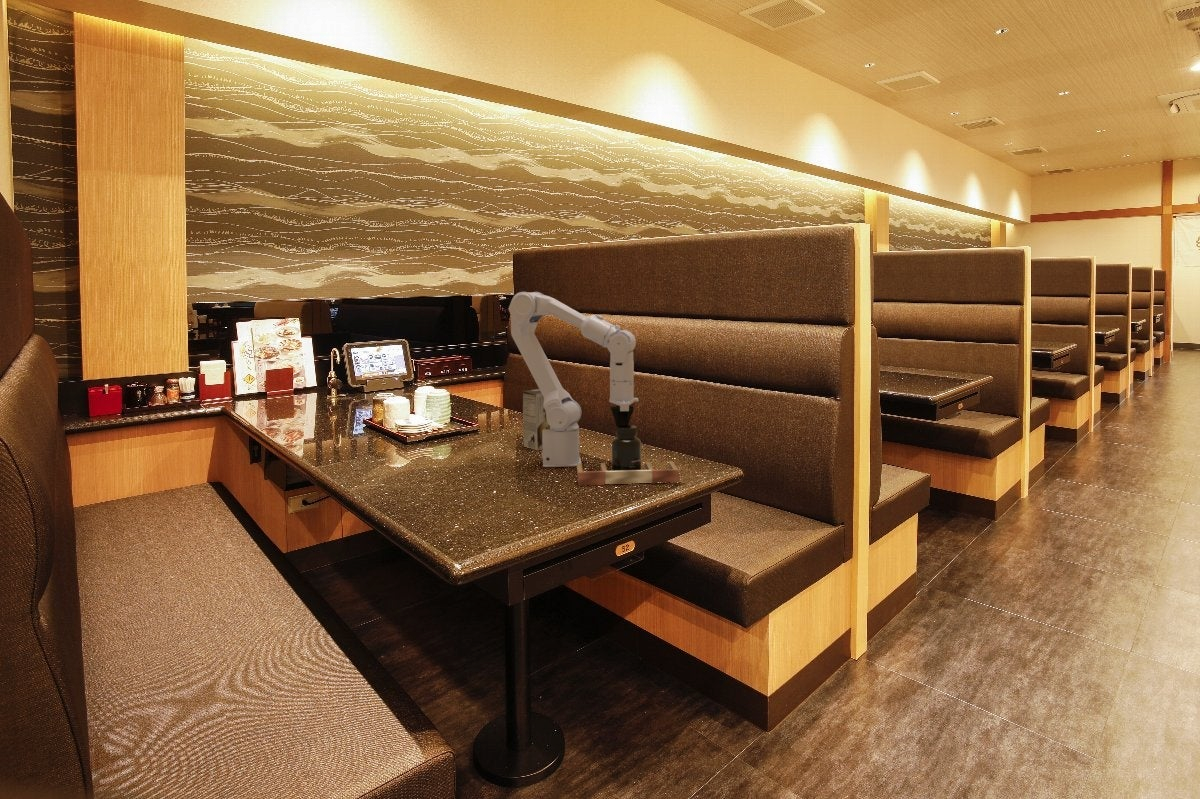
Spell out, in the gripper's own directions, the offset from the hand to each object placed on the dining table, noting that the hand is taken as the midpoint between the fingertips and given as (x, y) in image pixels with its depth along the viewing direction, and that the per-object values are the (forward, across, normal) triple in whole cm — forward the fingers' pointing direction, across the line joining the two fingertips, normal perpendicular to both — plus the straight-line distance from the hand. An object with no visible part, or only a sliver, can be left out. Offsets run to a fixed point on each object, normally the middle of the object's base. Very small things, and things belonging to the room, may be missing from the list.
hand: (621, 435), depth 169 cm
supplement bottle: (+8, -10, 0) cm, 13 cm away
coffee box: (+8, +25, +20) cm, 33 cm away
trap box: (+8, -12, 0) cm, 14 cm away
